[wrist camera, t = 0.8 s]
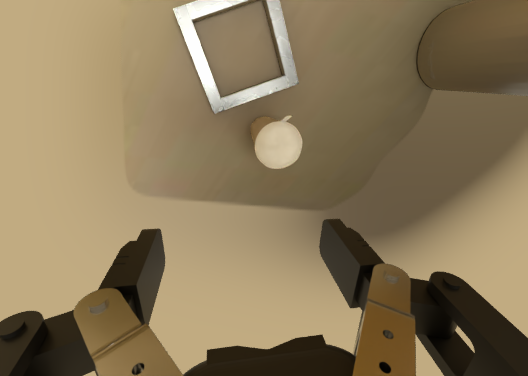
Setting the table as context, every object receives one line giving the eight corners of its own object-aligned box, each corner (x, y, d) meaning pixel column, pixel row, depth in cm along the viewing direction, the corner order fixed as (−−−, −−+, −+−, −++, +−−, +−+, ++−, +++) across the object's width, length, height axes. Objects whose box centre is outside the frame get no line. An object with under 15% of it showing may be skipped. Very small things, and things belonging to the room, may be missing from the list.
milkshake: (285, 105, 31) (315, 118, 22) (278, 149, 33) (303, 177, 24) (247, 101, 30) (263, 112, 21) (242, 146, 32) (255, 174, 23)
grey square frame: (270, -20, 25) (273, -26, 24) (294, 83, 30) (298, 83, 28) (174, 12, 25) (172, 8, 24) (214, 112, 29) (214, 113, 28)
